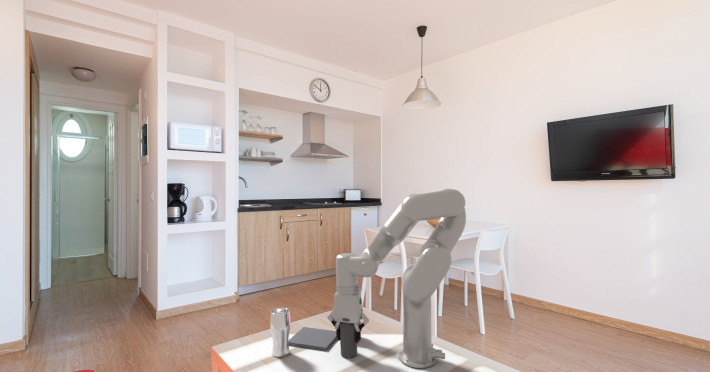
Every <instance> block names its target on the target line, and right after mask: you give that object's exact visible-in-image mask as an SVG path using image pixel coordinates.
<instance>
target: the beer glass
mask: <svg viewBox="0 0 710 372" xmlns="http://www.w3.org/2000/svg"><path fill="white" fill-rule="evenodd" d="M290 312H291V311H290V309H289V308H287V307H276V308H273V309H272V310H271V311H270V323H269V324H270V333H271V337H272V351H271V355H272V356H273V357H275V358H282V357H286V356H288V355H289V354H290V351H291V350H290V347H289V346H290V345H288V340H289V339H290V338H289V336H290V332H291V313H290Z"/></svg>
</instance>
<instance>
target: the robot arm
mask: <svg viewBox="0 0 710 372" xmlns="http://www.w3.org/2000/svg"><path fill="white" fill-rule="evenodd" d="M465 207H466V199H465V196H464V194H463V193H461V191H459V190H457V189H454V188H444V189H442V190H438V191H433V192H427V193H426V192H425V193H424V192H423V193H410V194H409V195H407V196H405V198H403V200H402V201H401V202H400V204H399V205H398V206H397V207H396V209H395V210H394V212H393V213H392V214H391V215H390V216H389V218H388V219H387V220H386V221H385V223H383V225H382V227H381V228H380V230H379V232H378V233H377V234H376V235H375V237H374V238H373V239H372V241H371V242H370V243H369V245H368V246H367V247H365V248H366V249H364V251H363V252H362V253H361V254H360V255H359V256H358V255H356V254H354V253H351V252H344V253H340V254H337V255H336V257H335V279H336V280H335V282H336V284H335V285H336V291H335V292H334V296H333V306H332V307H333V308H332V312H330V314H328V315H327V320H328V321H329V322H330V323H331V324H332V325H333V326H334V329H335V331H336V337H337V339H336V340H337V341H338V342H340V323H341V322H347V323H354V326H355V328H356V331H355V343H357V344H358V343H359V341H361V339H362V335H361V334H362V330H363V328H364V327H365V326H366V325H367V324H368V323H369V322H370V319H369V318H368V317H367V315H366V314H365V313H364V306H363V305H364V304H363V299H362V294H361V292H362V287H363V286H360V285H359V283H358V282H359V281H358V277H360V278H371V277H373V276H375V275H376V273H377V272H378V270H379V267H380V265H381V264H382V262H383V261H384V259H386V257H387V256H388V255H389V254H390V253H391V251H392V250H393V249H394V248H395V247H396V246H398V245H400V244H401V243H402V242H403V241H404V240H406V239H405V238H407V236H408V235H409V234H410V232H411V231H412V230H413V229H414V228H415V226H416V225H417V224H418V223H419V222H420V221H430V220H436V219H438V223H437V224H436V226H435V227H434V229H433V230H432V232H431V234H430V235H429V237H428V238H427V240H426V241H425V243H424V244H423V245H422V246H421V249H420V251H419V257H418V259H417V260H416V262H415V264H413V265H411V266H409V267H407V268H406V269H405V270H404V273H403V275H402V278H401V279H402V281H401V282H402V283H401V284H402V286H401V287H402V321H403V322H402V334H403V335H402V337H403V338H402V345H403V348H402V349H401V350H400V351H399V353H398V360H399V361H400V362H401V363H402V364H403V365H405V366H407V367H411V368H415V369H425V368H430V367H433V366H434V365H435V364H436V363H437V359H439V360H446V352H443V349H437V348H435V347H434V344H433V343H432V296H433V295H434V293H435V292H436V290H437V289H438V288H439V286H440V285H441V282H443V280H444V278H445V277H446V275H447V274H448V271H449V270H450V268H451V265H452V262H453V261H452V254H451V253H452V252H453V250H454V248H455V247H456V246H457V244H458V241H459V240H460V238H461V236H462V234H463V232H464V230H465V227H466V223H467V213H466V208H465ZM343 318H347V319H349V320H350V321H342V319H343ZM361 320H362V321H363V322H362V321H361ZM360 321H361V323H360ZM361 329H362V330H361Z"/></svg>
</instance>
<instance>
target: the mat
mask: <svg viewBox="0 0 710 372" xmlns="http://www.w3.org/2000/svg"><path fill="white" fill-rule="evenodd" d="M337 340H338V339H337V337H336V330H331V329H330V330H329V329H324V328H315V327H308V326H303V327H302V328H301V329H299V331H297V332H296V333H295V334H294V335H292V337H290V338H289V339H288V345H289V346H290V347H291V346H292V347H299V348H304V349H312V350H318V351H324V352H327V351H328V350H329V348H330V347H331V346H332V345H333V344H334V342H336V341H337Z"/></svg>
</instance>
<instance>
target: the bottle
mask: <svg viewBox="0 0 710 372" xmlns="http://www.w3.org/2000/svg"><path fill="white" fill-rule="evenodd" d="M342 321H350V320H349V319H347V318H343V319H342ZM355 331H356V328H355V326H354V323H347V322H341V323H340V341H339V342H340V355H341V356H342V357H343V358H344V357H345V358H353V357H356V356H357V355H358V343H355Z"/></svg>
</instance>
